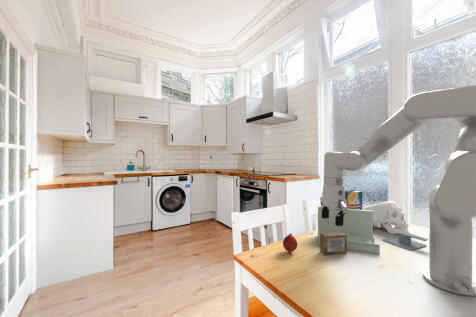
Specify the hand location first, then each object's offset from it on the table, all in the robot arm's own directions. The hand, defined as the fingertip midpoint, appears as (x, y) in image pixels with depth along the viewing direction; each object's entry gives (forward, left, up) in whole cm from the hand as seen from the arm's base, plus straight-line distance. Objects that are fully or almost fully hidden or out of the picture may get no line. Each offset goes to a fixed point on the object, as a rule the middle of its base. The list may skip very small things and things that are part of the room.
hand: (331, 221), depth 88 cm
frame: (0, -1, -13) cm, 13 cm away
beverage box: (+30, -11, -13) cm, 35 cm away
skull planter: (+43, -30, -13) cm, 54 cm away
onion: (-7, +16, -13) cm, 22 cm away
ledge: (+12, -7, -13) cm, 19 cm away
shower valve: (+22, -33, -14) cm, 42 cm away
